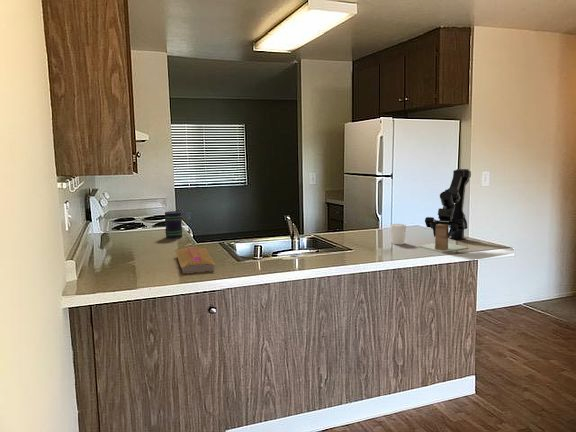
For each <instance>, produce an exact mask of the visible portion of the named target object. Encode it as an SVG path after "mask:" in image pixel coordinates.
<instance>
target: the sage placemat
mask: <svg viewBox="0 0 576 432" xmlns="http://www.w3.org/2000/svg"><path fill="white" fill-rule="evenodd" d="M418 247H419V248H423V249H426V250H430V251H435V252H439V253H447V252H451V251H452V252H453V251H458V250H465V249H469V247H468V246H466V245H465V246H463V245H459V244H454V243H452V242H451V243H450V242H448V249H446V250H439V249H435V242H434V243H432V242H431V243H427V244H418Z"/></svg>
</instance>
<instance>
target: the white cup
mask: <svg viewBox="0 0 576 432" xmlns="http://www.w3.org/2000/svg"><path fill="white" fill-rule="evenodd" d="M406 229H407V225H406V224H403V223H392V224H390V238H391V241H390V242H391V244H392V245H404V244H405V240H406V231H407V230H406Z"/></svg>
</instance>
